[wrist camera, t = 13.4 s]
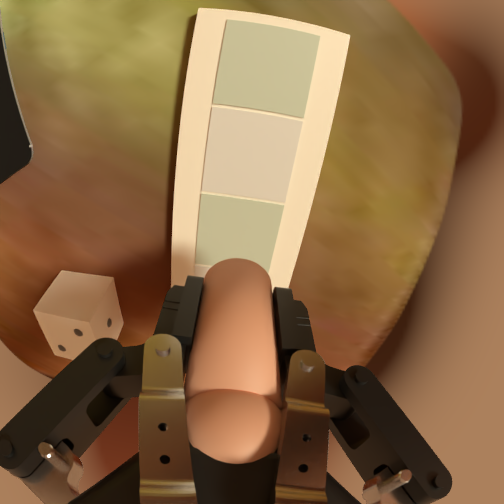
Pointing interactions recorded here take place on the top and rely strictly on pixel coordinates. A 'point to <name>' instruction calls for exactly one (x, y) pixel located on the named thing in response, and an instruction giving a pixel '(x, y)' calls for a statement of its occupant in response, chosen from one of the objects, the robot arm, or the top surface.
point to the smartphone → (11, 122)
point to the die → (78, 312)
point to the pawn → (234, 366)
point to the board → (252, 140)
